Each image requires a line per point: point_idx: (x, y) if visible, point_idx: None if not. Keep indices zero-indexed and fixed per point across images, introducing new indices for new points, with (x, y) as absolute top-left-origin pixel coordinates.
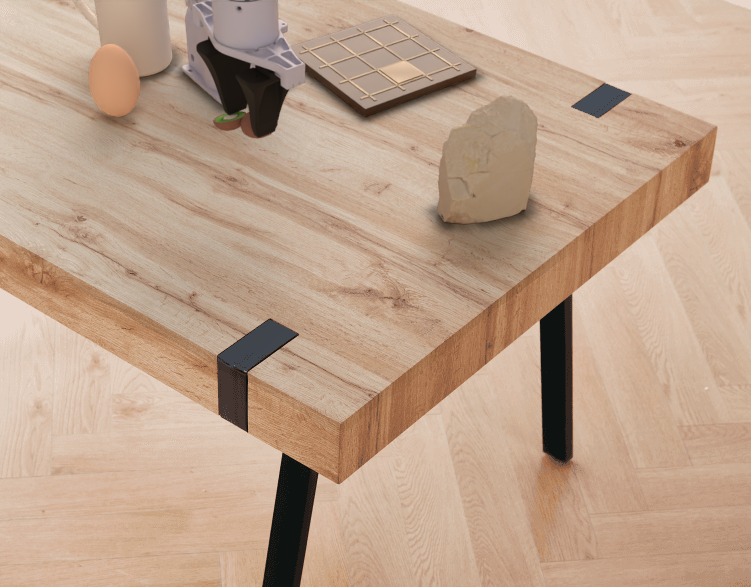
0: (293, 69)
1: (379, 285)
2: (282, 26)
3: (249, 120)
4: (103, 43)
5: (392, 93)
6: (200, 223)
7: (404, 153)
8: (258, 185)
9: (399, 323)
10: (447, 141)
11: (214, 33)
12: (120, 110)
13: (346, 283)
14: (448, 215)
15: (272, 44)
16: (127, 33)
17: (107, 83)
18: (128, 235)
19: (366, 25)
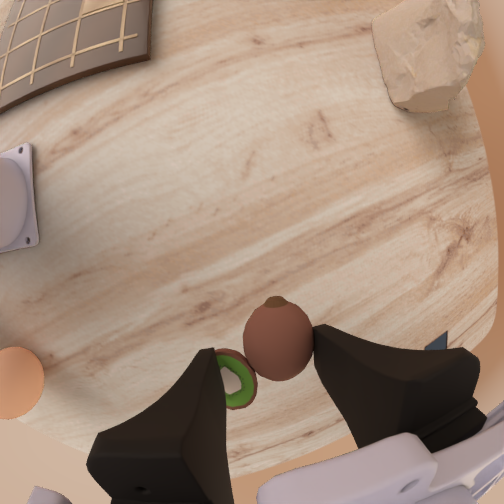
0: None
1: (448, 237)
2: (427, 487)
3: (292, 375)
4: None
5: (136, 12)
6: None
7: (261, 55)
8: (233, 280)
9: (478, 248)
10: (468, 74)
11: None
12: (43, 377)
13: (433, 265)
14: (425, 112)
15: (470, 491)
16: None
17: (28, 408)
18: (254, 429)
19: (10, 18)
